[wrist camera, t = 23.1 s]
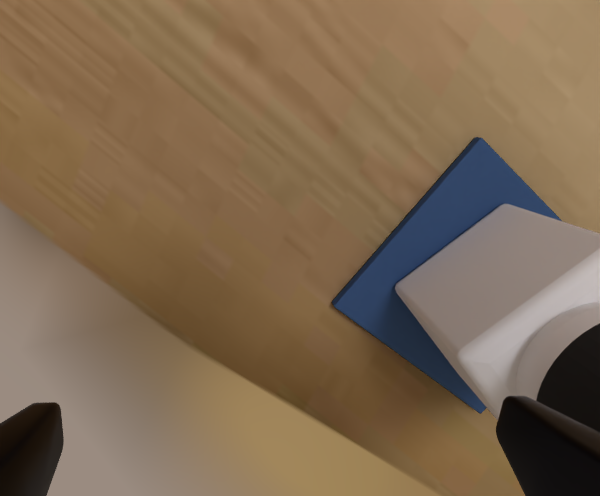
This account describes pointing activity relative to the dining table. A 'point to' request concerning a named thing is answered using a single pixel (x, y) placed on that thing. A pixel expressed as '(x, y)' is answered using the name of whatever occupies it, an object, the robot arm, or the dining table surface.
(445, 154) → the dining table surface
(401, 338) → the towel
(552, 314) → the medicine bottle
